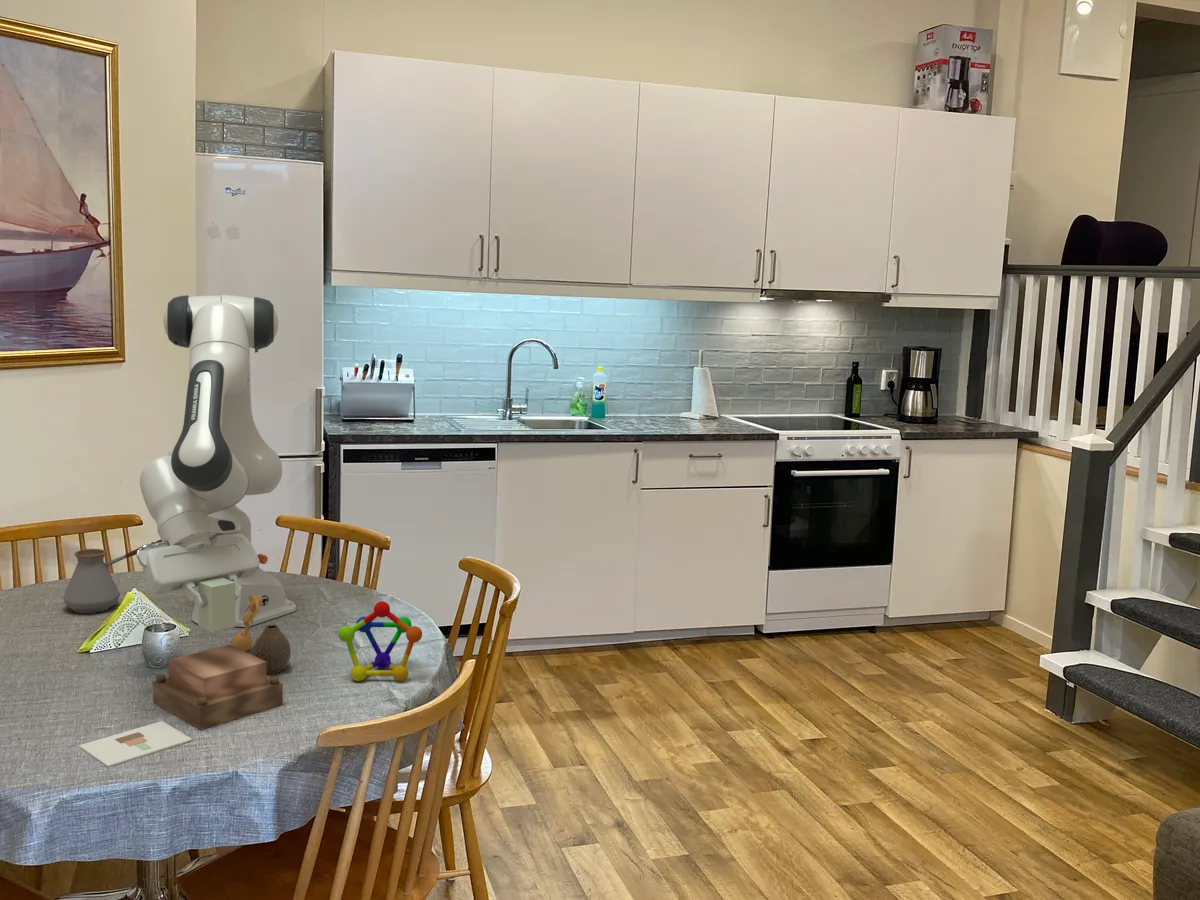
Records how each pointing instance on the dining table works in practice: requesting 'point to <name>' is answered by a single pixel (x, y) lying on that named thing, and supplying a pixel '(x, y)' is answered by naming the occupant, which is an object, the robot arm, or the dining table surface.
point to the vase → (272, 649)
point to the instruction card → (135, 743)
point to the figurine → (247, 624)
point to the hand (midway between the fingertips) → (218, 602)
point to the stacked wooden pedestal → (216, 687)
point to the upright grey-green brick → (217, 604)
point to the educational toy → (382, 657)
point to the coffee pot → (93, 582)
